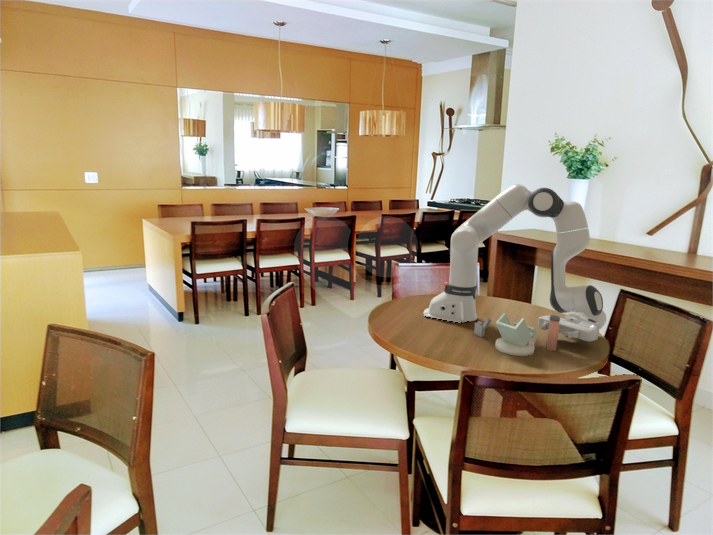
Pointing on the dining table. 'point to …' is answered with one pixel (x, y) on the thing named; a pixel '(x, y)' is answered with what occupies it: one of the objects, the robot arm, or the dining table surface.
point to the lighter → (481, 327)
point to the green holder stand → (515, 337)
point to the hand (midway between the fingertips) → (554, 331)
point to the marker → (553, 333)
